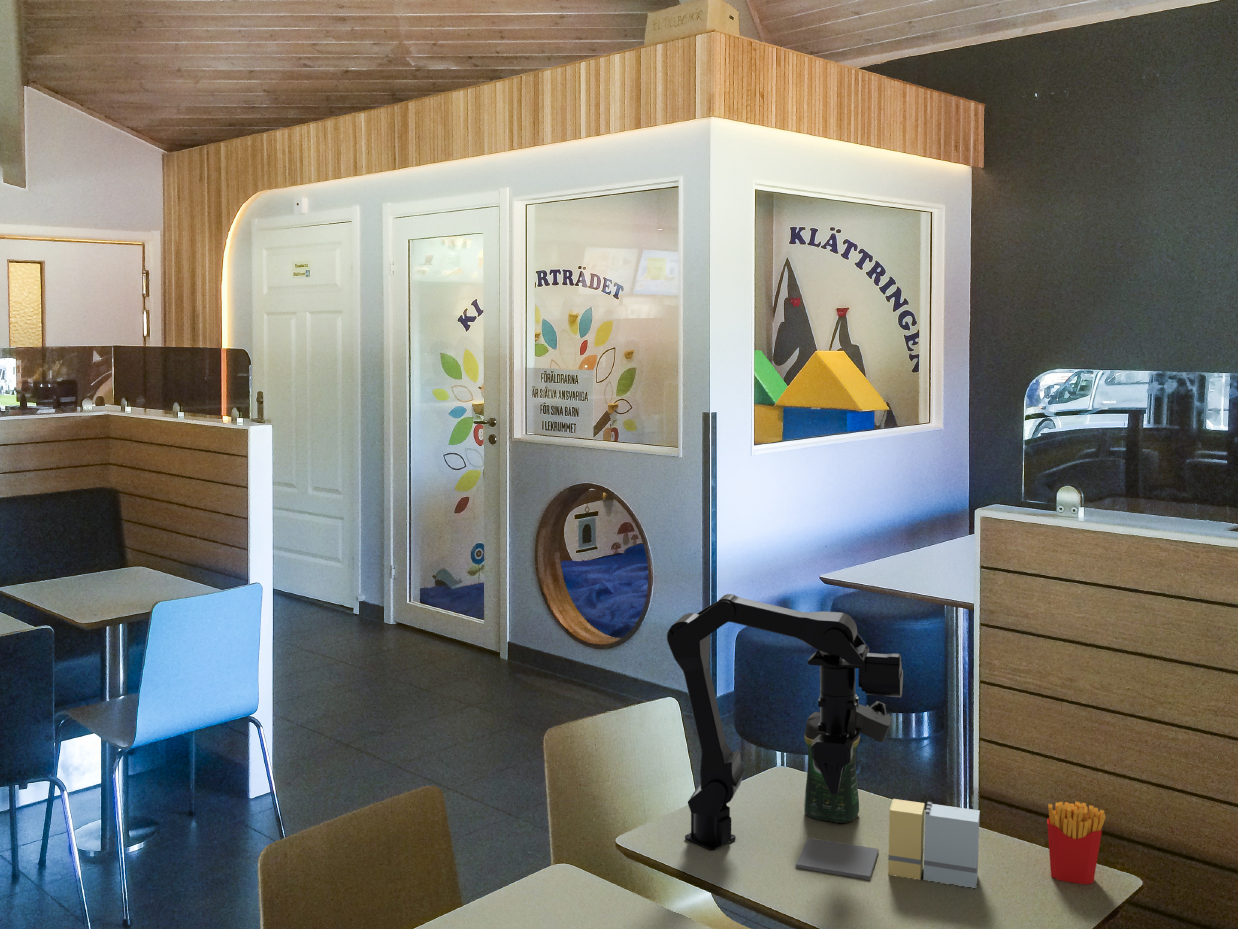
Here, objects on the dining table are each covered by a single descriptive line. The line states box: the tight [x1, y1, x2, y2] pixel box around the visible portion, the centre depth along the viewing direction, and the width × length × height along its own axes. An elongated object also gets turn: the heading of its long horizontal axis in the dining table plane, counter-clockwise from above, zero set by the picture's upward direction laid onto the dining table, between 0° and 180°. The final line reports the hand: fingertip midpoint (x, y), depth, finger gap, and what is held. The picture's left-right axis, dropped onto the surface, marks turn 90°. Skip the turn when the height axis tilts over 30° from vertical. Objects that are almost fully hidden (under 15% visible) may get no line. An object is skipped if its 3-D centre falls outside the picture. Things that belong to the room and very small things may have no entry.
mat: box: [795, 837, 880, 881], centre depth 184 cm, size 12×10×1 cm
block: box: [887, 798, 925, 880], centre depth 179 cm, size 5×4×11 cm
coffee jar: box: [803, 711, 861, 824], centre depth 200 cm, size 10×8×19 cm
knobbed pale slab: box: [923, 801, 981, 889], centre depth 177 cm, size 8×4×11 cm, turn 69°
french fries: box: [1046, 800, 1107, 885], centre depth 177 cm, size 8×4×12 cm, turn 69°
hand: (837, 782), depth 183 cm, fingers open, 9 cm apart
